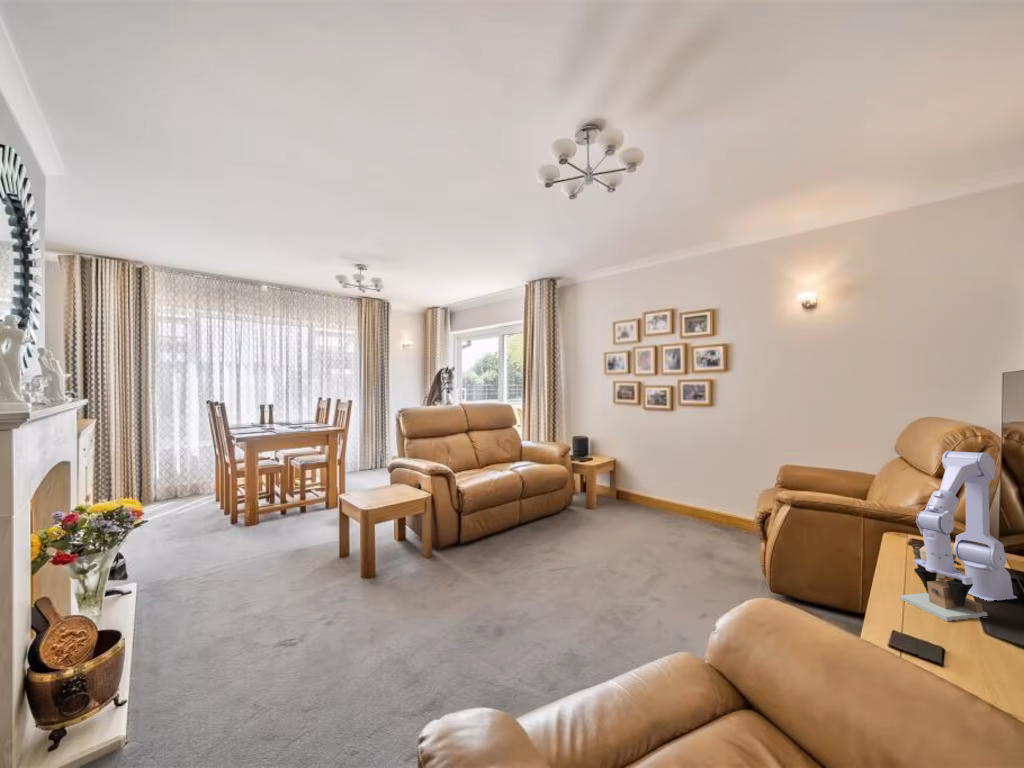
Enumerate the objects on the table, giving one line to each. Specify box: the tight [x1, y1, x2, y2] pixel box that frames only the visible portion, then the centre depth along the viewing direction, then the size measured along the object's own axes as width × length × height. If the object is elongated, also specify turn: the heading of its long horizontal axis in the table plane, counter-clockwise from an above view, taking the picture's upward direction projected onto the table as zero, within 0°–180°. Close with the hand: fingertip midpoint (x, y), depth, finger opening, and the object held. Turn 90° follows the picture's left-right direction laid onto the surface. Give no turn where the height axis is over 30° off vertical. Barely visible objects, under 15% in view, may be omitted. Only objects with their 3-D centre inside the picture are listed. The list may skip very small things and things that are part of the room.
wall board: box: [899, 592, 988, 622], centre depth 123 cm, size 12×14×3 cm
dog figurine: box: [911, 543, 962, 566], centre depth 149 cm, size 12×6×7 cm, turn 44°
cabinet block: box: [927, 579, 964, 609], centre depth 122 cm, size 6×4×6 cm
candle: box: [920, 545, 946, 580], centre depth 143 cm, size 6×6×10 cm
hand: (945, 599), depth 122 cm, fingers open, 7 cm apart
